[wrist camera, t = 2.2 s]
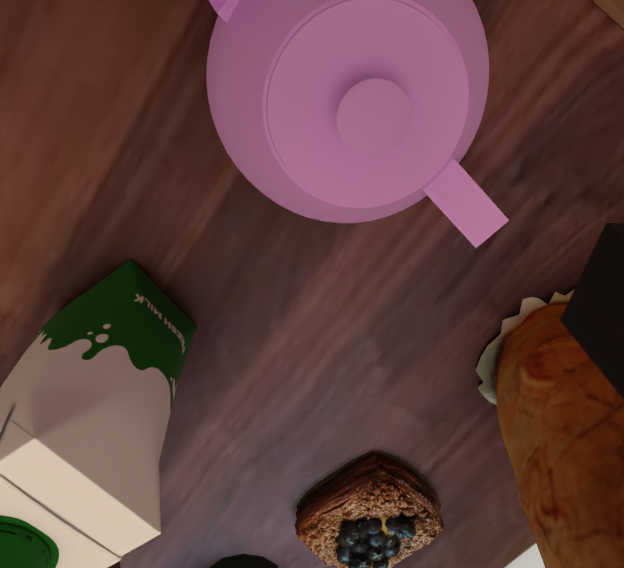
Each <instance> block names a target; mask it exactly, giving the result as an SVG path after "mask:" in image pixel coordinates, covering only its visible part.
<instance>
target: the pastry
mask: <svg viewBox="0 0 624 568" xmlns="http://www.w3.org/2000/svg"><path fill="white" fill-rule="evenodd" d="M440 508H441V503H440V502H439V500H438V498H437V496H436V493H435V492H434V490H433V489H432V487H431V486H430V485H429V484H428V482H427V481H426V480H425V479H424V478H423V477H422V476H421V475H420V474H419V473H418V472H416V471H415V470H414V469H413V468H412V467H411V466H409V465H408V464H406V463H405V462H404V461H402V460H400V459H398V458H395V457H393V456H390V455H387V454H384V453H380V452H377V451H374V452H371V453H368V454H365V455H363V456H361V457H359V458H357V459H356V460H354V461H352V462H350V463H349V464H347V465H346V466H344V467H343V468H341V469H340V470H338V471H337V472H335V473H333V474H332V475H330V476H329V477H328V478H326V479H325V480H323V481H322V482H321V483H319V484H318V485H317V486H316V487H314V488H313V489H312V490H310V491H309V492H308V493H307V494H306V495H305V496H304V497H303V498H302V500H301V501H300V503H299V504H298V506H297V512H296V517H297V518H298V519H297V521H296V523H295V528H296V534H297V535H298V537H299V539H301V541H303V542H304V543H305V545H306V546H308V549H310V550H311V551H312V552H313V553H314V555H318V557H319V559H321V560H323V561H324V563H325V565H326V566H331V565H335V566H336V567H337V568H392V567H393V566H394V565H395V564H396V563H399V562H400V561H401V560H402V559H404V558H405V557H407V556H409V555H412V552H413V551H417V550H418V549H421V548H422V547H423V546H425V544H426V545H429V544H430V542H431V541H433V540H434V539H436V537H439V532H440V531H442V530H444V529H443V527H444V525H443V524H444V523H443V519H442V517H441V515H440V511H439V510H440Z"/></svg>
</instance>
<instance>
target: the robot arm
mask: <svg viewBox="0 0 624 568" xmlns="http://www.w3.org/2000/svg"><path fill="white" fill-rule="evenodd" d="M560 321H561V323H562V324H563V325H564V326H565V328H566V329H567V330H568V331H569V333H570V334H571V335H572V336H573V338H574V339H575V340H576V341H577V342H578V344H579V345H580V346H581V347H582V349H583V350H584V351H585V352H586V354H587V355H588V356H589V357H590V359H591V360H592V361H593V362H594V364H595V365H596V366H597V367H598V368H599V370H600V371H601V372H602V373H603V375H604V376H605V377H606V378H607V380H608V381H609V382H610V383H611V385H612V386H613V387H614V388H615V389H616V391H617V392H618V393H619V394H620V396H621V397H622V398H623V399H624V224H617V223H606V225H605V227H604V229H603V231H602V233H601V236H600V238H599V240H598V242H597V244H596V246H595V248H594V250H593V252H592V254H591V256H590V258H589V260H588V263H587V265H586V267H585V269H584V271H583V273H582V275H581V277H580V279H579V281H578V283H577V285H576V287H575V289H574V292H573V294H572V296H571V298H570V300H569V302H568V304H567V306H566V308H565V310H564V312H563V314H562V316H561V319H560Z"/></svg>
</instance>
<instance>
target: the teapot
mask: <svg viewBox="0 0 624 568" xmlns="http://www.w3.org/2000/svg"><path fill="white" fill-rule="evenodd" d="M209 2H210V3H211V5H212V7H213V8H214V10H215V11H216V13H217V14H218V15H219V16H218V18H217V20H216V23H215V26H214V30H213V33H212V36H211V39H210V45H209V51H208V57H207V73H206V81H207V94H208V101H209V106H210V111H211V115H212V118H213V121H214V124H215V127H216V130H217V133H218V135H219V137H220V139H221V141H222V143H223V145H224V147H225V149H226V151H227V153H228V154H229V156H230V158H231V159H232V161H233V162H234V164H235V165H236V167H237V168H238V169H239V170H240V171H241V173H242V174H243V175H244V176H245V177H246V178H247V180H248V181H249V182H251V183H252V184H253V185H254V186H255V187H256V188H257V189H258V190H259V191H260V192H262V193H263V194H264V195H265V196H267V197H268V198H270V199H271V200H273V201H274V202H275V203H277V204H278V205H280V206H282V207H284V208H286V209H288V210H290V211H292V212H294V213H297V214H299V215H302V216H305V217H308V218H311V219H316V220H320V221H326V222H335V223H359V222H366V221H373V220H377V219H380V218H384V217H388V216H390V215H393V214H395V213H398V212H400V211H403V210H404V209H406V208H408V207H410V206H412V205H414V204H415V203H417V202H419V201H420V200H421V199H423V198H424V197H426V196H427V195H428V197H429V198H430V199H431V200H432V201H433V202H434V203H435V204H436V205H437V206H438V207H439V209H440V210H441V211H442V212H443V213H444V214H445V215H446V216H447V217H448V218H449V219H450V220H451V222H452V223H453V224H454V225H455V226H456V227H457V228H458V229H459V230H460V231H461V232H462V234H463V235H464V236H465V237H466V238H467V239H468V240H469V241H470V242H471V243H472V244H473V246H474V247H475V248H477V247H478V246H479V245H480V244H482V243H483V242H484V241H485V240H486V239H488V238H489V237H490V236H491V235H492V234H494V233H495V232H496V231H497V230H498V229H500V228H501V227H502V226H503V225H504V224H506V223H507V222H508V221H509V220H508V219H507V217H506V216H505V215H504V214H503V213H502V212H501V211H500V210H499V208H498V207H497V206H496V205H495V204H494V203H493V202H492V201H491V199H490V198H489V197H488V196H487V195H486V194H485V193H484V192H483V190H482V189H481V188H480V187H479V186H478V185H477V184H476V183H475V181H474V180H473V179H472V178H471V177H470V176H469V175H468V174H467V172H466V171H465V170H464V169H463V168H462V167H461V166H460V165H459V162H460V161H461V159H462V158H463V157H464V155H465V154H466V152H467V150H468V148H469V147H470V145H471V143H472V141H473V139H474V137H475V135H476V132H477V130H478V127H479V125H480V122H481V119H482V116H483V112H484V108H485V105H486V99H487V92H488V85H489V56H488V45H487V41H486V36H485V32H484V27H483V24H482V22H481V19H480V16H479V14H478V11H477V8H476V6H475V4H474V3H473V1H472V0H209Z"/></svg>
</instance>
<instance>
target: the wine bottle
mask: <svg viewBox="0 0 624 568" xmlns="http://www.w3.org/2000/svg"><path fill="white" fill-rule="evenodd" d="M210 568H278V566H277V565H275V564H273V563H272V562H270V561H268V560H267V559H265V558H263V557H259V556H251V555H244V554H242V555H237V556H233V557H228V558H223V559H221V560H220V561H218V562H217V563H216V564H214V565H213V566H211V567H210Z"/></svg>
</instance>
